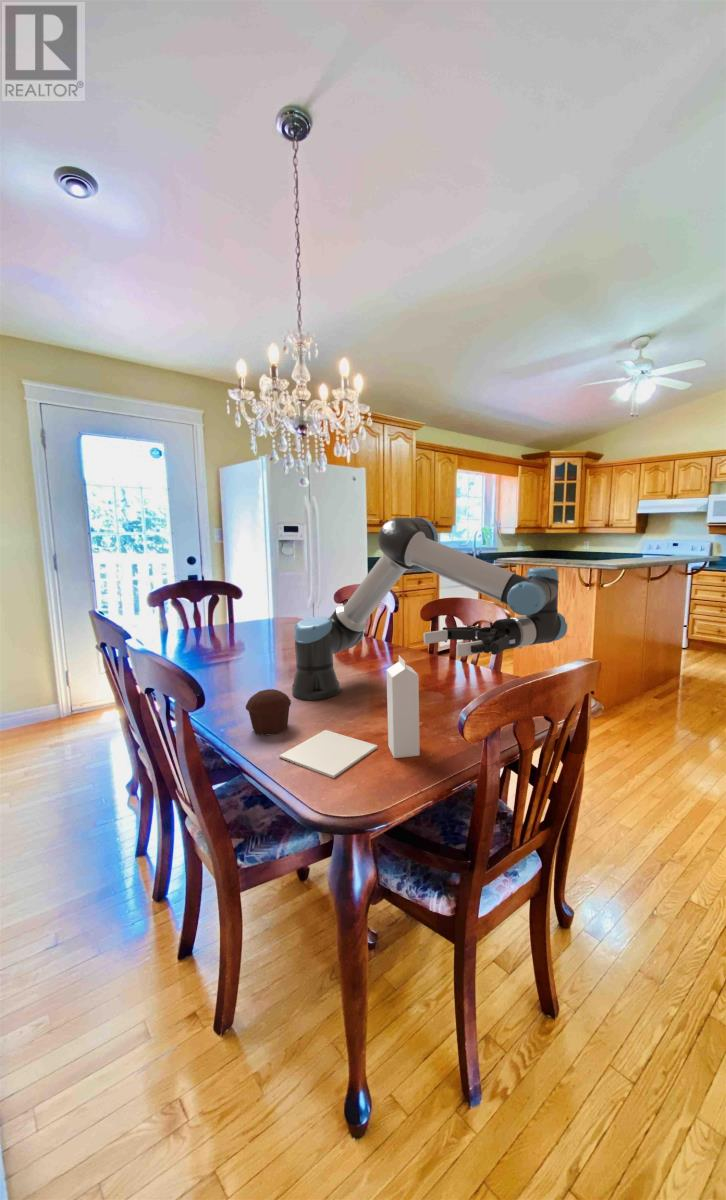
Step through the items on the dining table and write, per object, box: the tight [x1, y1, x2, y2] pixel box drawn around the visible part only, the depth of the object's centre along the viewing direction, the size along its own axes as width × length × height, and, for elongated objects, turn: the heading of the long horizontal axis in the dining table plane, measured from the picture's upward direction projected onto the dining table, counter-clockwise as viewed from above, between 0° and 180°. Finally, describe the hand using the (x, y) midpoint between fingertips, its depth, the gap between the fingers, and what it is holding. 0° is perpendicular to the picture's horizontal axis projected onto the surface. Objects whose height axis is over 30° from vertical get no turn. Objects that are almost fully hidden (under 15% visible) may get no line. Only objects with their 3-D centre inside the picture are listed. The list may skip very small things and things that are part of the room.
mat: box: [278, 729, 378, 779], centre depth 106 cm, size 16×16×1 cm
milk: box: [386, 655, 421, 759], centre depth 104 cm, size 6×6×22 cm
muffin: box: [245, 688, 292, 736], centre depth 120 cm, size 12×11×10 cm
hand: (439, 644), depth 106 cm, fingers open, 13 cm apart
